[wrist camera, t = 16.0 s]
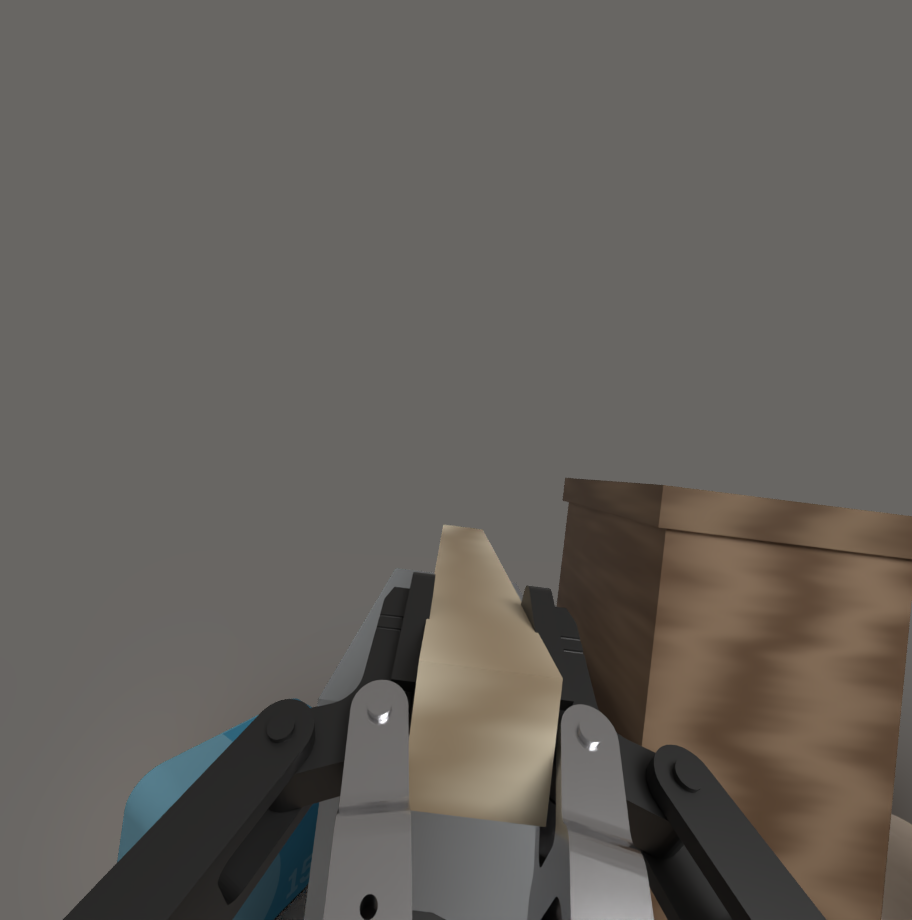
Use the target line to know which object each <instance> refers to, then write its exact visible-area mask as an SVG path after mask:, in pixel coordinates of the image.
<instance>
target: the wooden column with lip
mask: <svg viewBox="0 0 912 920" xmlns="http://www.w3.org/2000/svg"><path fill="white" fill-rule="evenodd" d="M563 501H567V502H569V507H568V515H567V523H566V532H565V540H564V549H563V558H562V565H561V574H560V583H559V591H558V599H557V607H563V608H566V609H567V610H568V612H569V613H570V614H571V616H572V617H573V619H574V620H575V622H576V624H577V628H578V632H579V636H580V641H581V644H582V648H583V655H584V656H585V660H586V664H587V668H588V672H589V676H590V680H591V684H592V688H593V692H594V695H595V699H596V703H597V706H598V709H599V711H600V712H601V713H602V714H603V715H604V716H606V717H607V719H608V720H609V721H610V722H611V724H612V725H613V727H614V729H615V731H616V732H617V733H618V734H619V735H621V736H622V737H624V738H626V739H627V740H629V741H632V742H634V743H636V744H638V745H640V746H642V747H644V748H647V749H649V750H651V751H653V752H655V753H656V751H657V750H658V749H659V748H660V747H662V746H664V745H677V746H680V747H683V748H685V749H687V750H689V751H690V752H692V753H693V754H694V755H696V756H697V757H698V758H699V759H700V760H701V761H702V762H703V763H704V764H705V765H706V766H707V768H708V769H709V770H710V771H711V773H712V774H713V775H714V776H715V778H716V779H717V780H718V782H719V783H720V784H721V785H722V787H723V788H724V789H725V791H726V792H727V793H728V794H729V796H730V797H731V798H732V800H733V801H734V802H735V803H736V805H737V806H738V807H739V808H740V810H741V811H742V812H743V814H744V815H745V816H746V817H747V819H748V820H749V821H750V823H751V824H752V825H753V826H754V828H755V829H756V830H757V831H758V833H759V834H760V835H761V837H762V838H763V839H764V840H765V842H766V843H767V844H768V846H769V847H770V848H771V849H772V851H773V852H774V853H775V854H776V856H777V857H778V858H779V860H780V861H781V862H782V863H783V865H784V866H785V867H786V869H787V870H788V871H789V872H790V874H791V875H792V876H793V878H794V879H795V880H796V881H797V883H798V884H799V885H800V886H801V888H802V889H803V890H804V892H805V893H806V894H807V895H808V897H809V898H810V899H811V901H812V902H813V903H814V904H815V906H816V907H817V908H818V909H819V911H820V912H821V913H822V915H823V916H824V917H825V918H826V920H881V914H882V903H883V893H884V883H885V872H886V862H887V851H888V841H889V830H890V820H891V810H892V809H891V808H892V799H893V788H894V778H895V767H896V757H897V746H898V737H899V726H900V716H901V706H902V695H903V684H904V674H905V663H906V653H907V643H908V633H909V622H910V612H911V601H912V516H904V515H897V514H888V513H881V512H872V511H865V510H857V509H849V508H841V507H833V506H825V505H817V504H809V503H801V502H792V501H785V500H777V499H769V498H761V497H753V496H745V495H737V494H729V493H722V492H713V491H706V490H698V489H689V488H682V487H673V486H666V485H654V484H640V483H627V482H613V481H600V480H586V479H573V478H565V485H564V493H563ZM649 888H650V887H649ZM650 894H651V901H652V908H653V915H654V920H667V918H666V916H665V914H664V912H663V911H662V909H661V907H660V905H659V903H658V901H657V900H656V898H655V896H654V894H653V892H652V891H651V889H650Z"/></svg>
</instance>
